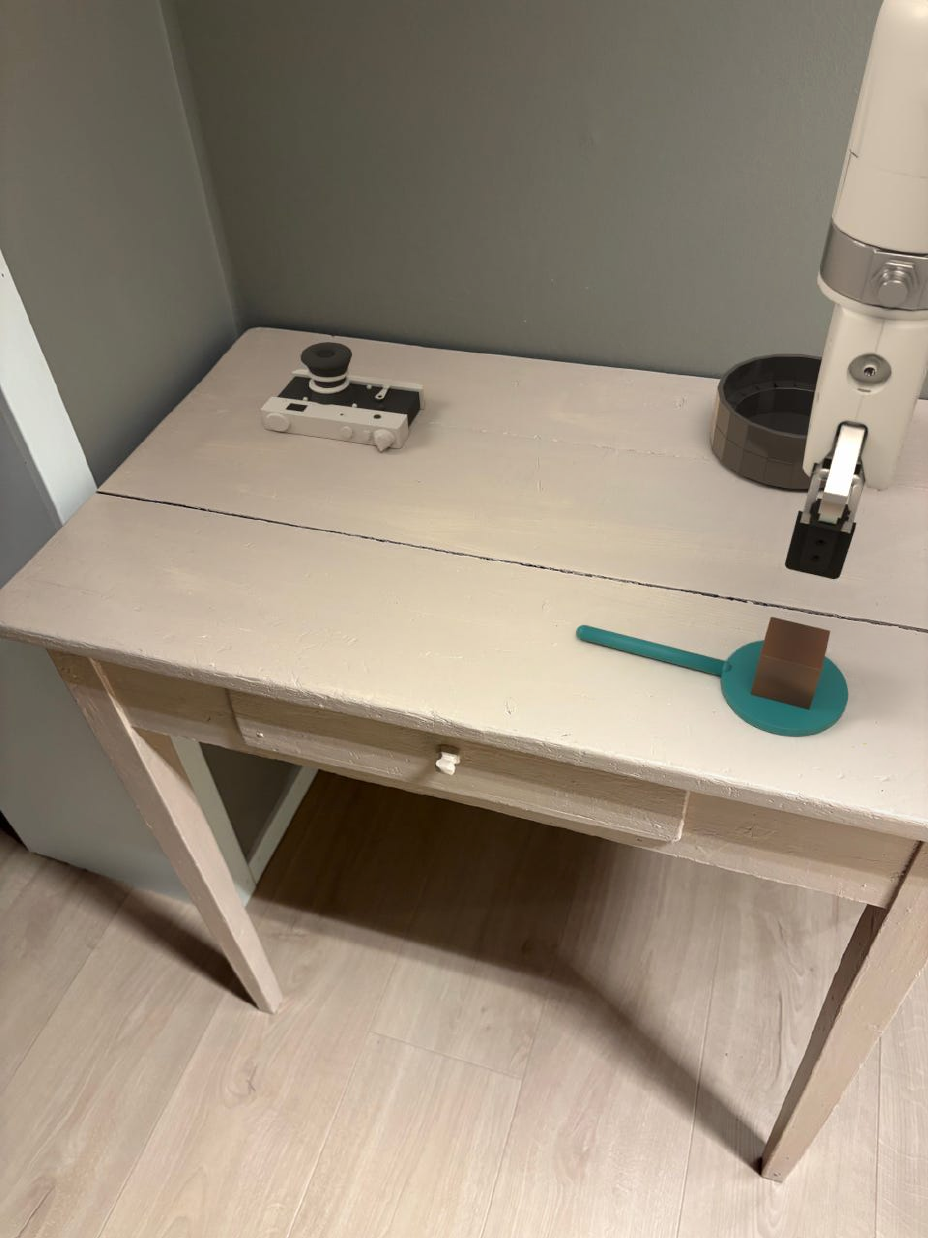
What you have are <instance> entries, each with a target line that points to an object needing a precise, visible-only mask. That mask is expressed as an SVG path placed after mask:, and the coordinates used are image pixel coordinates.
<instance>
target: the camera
mask: <svg viewBox="0 0 928 1238" xmlns="http://www.w3.org/2000/svg"><path fill="white" fill-rule="evenodd" d="M352 358H353V353H352V349H351V348H349V346H346V345H345V344H343V343H340V342H332V341H331V342H330V341H323V342H318V343H315V344H312V345H310V346H308V347H306V348H304V350H302V352H301V354H300V362H302V364H303V365H304V366H306V367H307V369H306V368H305V369H304V368H299V369H296V370H293V371H292V372H291V373H290V374H291V380H290V381H289V382H288V383H287V384H286V385H285V387H284V388H283V389H282V391H281V392H280V393H278V395H277V396H271V397H269V399H268V400H267V401H266V402H265V403H264V404H263V406H261V408H260V411H261V417H262V421H263V426H264V429H265V430H269V431H274V432H279V433H286V434H294V435H301V436H308V437H314V438H322V439H329V440H335V441H342V442H350V443H357V444H364V445H371V446H376V447H377V449H378V450H379V451H380V452H382V451H384V450H386V449H387V448H392V449H401V448H402V447H403V445H404V444H405V442H406V440H407V439H408V438H409V436H410V434H409V433H410V432H409V426H410V424H411V423H412V422H413V420H414V418H415V417H416V415H417V413H418V412H419V411H420V410H424V409H425V406H426V405H425V392H424V385H423V384H422V383H417V382H408V381H401V380H393V379H392V380H391V379H384V378H377V377H368V376H361V375H353V374H349V373H350V371H349V365H350V364H351V360H352Z"/></svg>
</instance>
